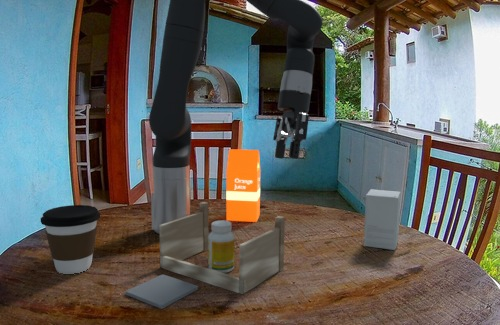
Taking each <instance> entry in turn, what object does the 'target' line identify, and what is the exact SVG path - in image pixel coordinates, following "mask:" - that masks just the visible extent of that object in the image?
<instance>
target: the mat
mask: <svg viewBox="0 0 500 325" xmlns="http://www.w3.org/2000/svg"><path fill="white" fill-rule="evenodd" d="M197 290H199V286H198V285H195V284H192V283H190V282H187V281H185V280H181V279H178V278H175V277H172V276H170V275H166V274H163V273H162V274H160V275H159V276H156V277H153V278H152V279H149V280H147V281H144V282H143V283H140V284H138V285H136V286H134V287H131V288H129V289H127V290H125V292H124V293H125V295H126V296H128V297H131V298H134V299H136V300H139V301H141V302H143V303H146V304H148V305H151V306H154V307H156V308H158V309H160V310H162V309H164V308H167V307H168V306H170V305H172V304H174V303H176V302H177V301H179V300H181V299H183V298H185V297H186V296H188V295H190V294H192V293H193V292H196V291H197Z"/></svg>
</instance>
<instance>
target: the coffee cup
mask: <svg viewBox="0 0 500 325" xmlns="http://www.w3.org/2000/svg"><path fill="white" fill-rule="evenodd" d="M100 218H101V213H100V212H99V210H98V208H96V207H95V206H92V205H86V204H75V205H74V204H71V205H63V206H57V207H51V208H50V209H47V210H45V211H44V212H43V213H42V217H41V218H40V223H41V224H42V225H43V226H45V227H44V228H45V234H46V238H47V243H48V247H49V250H50V254H51V258H52V259H53V263H54V267H55V270H56V272H57V273H58V272H59V273H58V274H60V273H63V274H74V273H79V274H81V273H80V272H82V273H84V272H83V271H85V272H87V271H88V270H89V268H90V267H91V265H92V261H93V256H94V255H93V254H94V252H95V244H96V237H97V230H98V225H97V222H98V220H99V219H100ZM87 269H88V270H87ZM86 270H87V271H86ZM63 274H62V275H63ZM74 275H75V274H74Z"/></svg>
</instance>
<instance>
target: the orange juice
mask: <svg viewBox="0 0 500 325" xmlns="http://www.w3.org/2000/svg"><path fill="white" fill-rule="evenodd" d="M259 150H260V149H239V148H238V149H236V148H235V149H233V148H232V149H231V148H230V149H229V150H228V158H227V166H226V191H225V192H226V195H225V196H226V198H225V199H226V208H225V210H226V220H225V221H229V222H248V223H249V222H250V223H252V222H253V223H257V222H258V219H259V218H260V214H261V208H260V207H261V164H260V163H261V162H260V161H261V160H260V151H259Z"/></svg>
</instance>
